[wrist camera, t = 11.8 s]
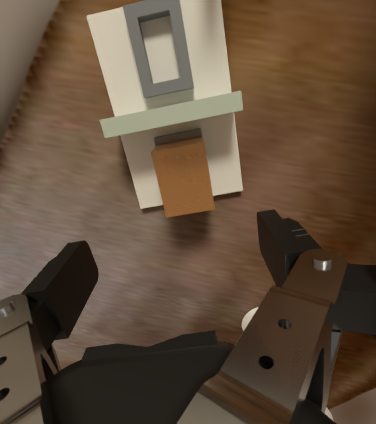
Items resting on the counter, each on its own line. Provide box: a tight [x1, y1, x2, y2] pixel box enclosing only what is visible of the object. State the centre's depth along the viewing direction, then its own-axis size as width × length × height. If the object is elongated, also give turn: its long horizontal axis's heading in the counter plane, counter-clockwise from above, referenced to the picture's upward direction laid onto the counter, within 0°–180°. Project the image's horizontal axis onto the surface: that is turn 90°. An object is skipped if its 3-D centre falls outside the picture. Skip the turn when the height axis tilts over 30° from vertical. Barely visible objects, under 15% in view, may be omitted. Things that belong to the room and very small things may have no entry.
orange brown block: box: [151, 136, 215, 218], centre depth 25 cm, size 6×4×6 cm
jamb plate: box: [87, 0, 243, 209], centre depth 25 cm, size 19×12×6 cm, turn 11°
